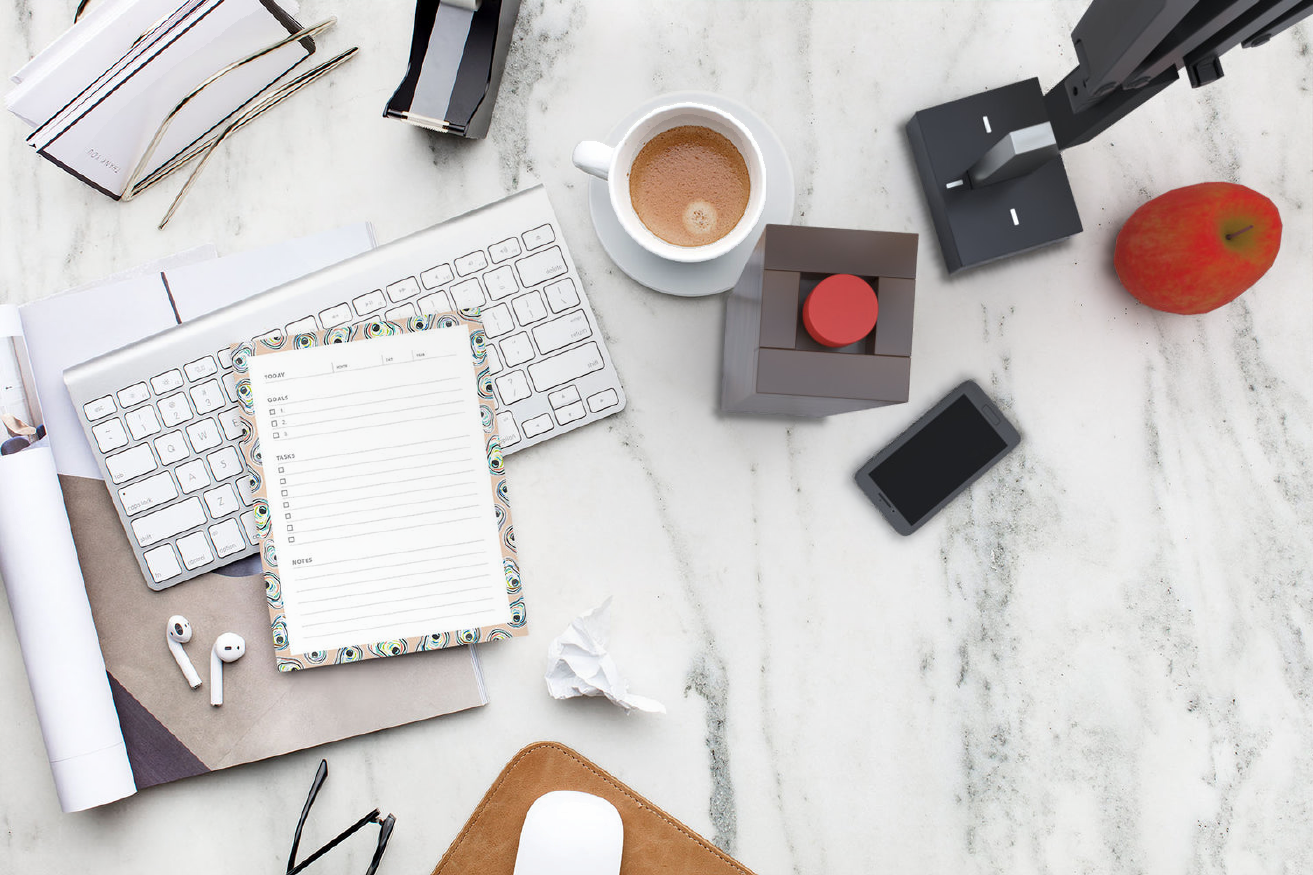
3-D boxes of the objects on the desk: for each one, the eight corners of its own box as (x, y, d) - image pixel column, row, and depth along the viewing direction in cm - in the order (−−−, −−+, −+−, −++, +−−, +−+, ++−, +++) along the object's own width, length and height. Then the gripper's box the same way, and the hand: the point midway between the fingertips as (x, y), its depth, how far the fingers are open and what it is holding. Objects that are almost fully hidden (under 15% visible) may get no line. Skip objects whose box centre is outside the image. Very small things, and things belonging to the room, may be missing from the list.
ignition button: (804, 278, 46) (810, 271, 44) (871, 282, 46) (880, 275, 44) (800, 345, 46) (806, 341, 44) (867, 349, 46) (876, 346, 44)
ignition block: (727, 299, 70) (766, 223, 46) (827, 306, 70) (919, 233, 46) (720, 410, 70) (755, 393, 46) (820, 417, 70) (908, 402, 46)
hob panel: (904, 125, 70) (916, 110, 67) (1021, 91, 70) (1038, 75, 67) (948, 274, 70) (962, 266, 67) (1065, 240, 70) (1085, 230, 67)
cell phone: (1021, 439, 69) (1025, 439, 69) (902, 539, 69) (905, 540, 69) (968, 377, 70) (972, 376, 69) (850, 476, 69) (852, 476, 69)
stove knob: (972, 189, 67) (1017, 153, 59) (966, 169, 67) (1011, 130, 59) (1033, 172, 67) (1087, 134, 59) (1028, 152, 67) (1080, 111, 59)
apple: (1190, 339, 70) (1286, 321, 59) (1079, 291, 70) (1156, 264, 59) (1237, 230, 70) (1342, 191, 59) (1126, 182, 70) (1212, 134, 59)
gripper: (1487, -134, 14) (958, 233, 37) (2187, -344, 14) (1217, 155, 37) (1359, -538, 14) (912, 84, 37) (2057, -745, 14) (1171, 6, 37)
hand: (1065, 119), depth 37 cm, fingers closed
